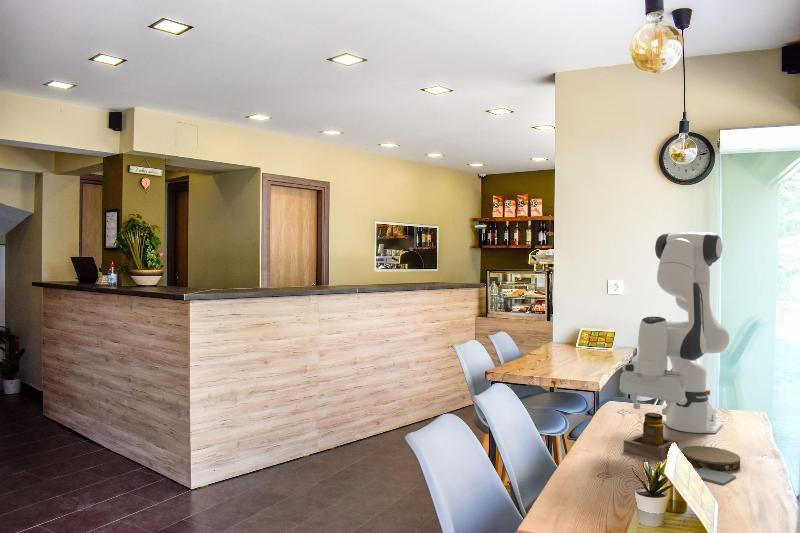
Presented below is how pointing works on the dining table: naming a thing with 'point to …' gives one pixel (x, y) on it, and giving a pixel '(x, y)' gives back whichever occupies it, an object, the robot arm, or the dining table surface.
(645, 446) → the holder
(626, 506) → the dining table surface
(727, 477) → the coaster
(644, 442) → the condiment
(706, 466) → the round cork trivet
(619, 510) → the dining table surface
